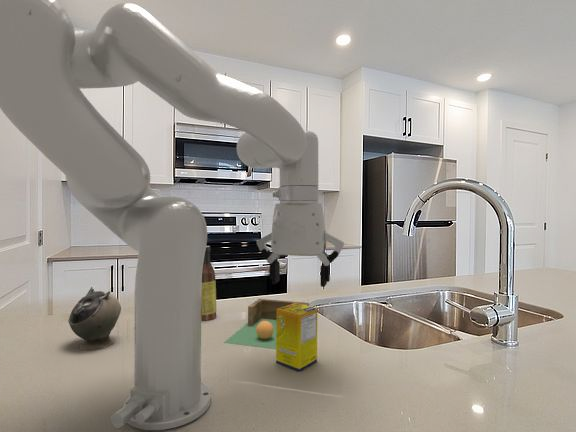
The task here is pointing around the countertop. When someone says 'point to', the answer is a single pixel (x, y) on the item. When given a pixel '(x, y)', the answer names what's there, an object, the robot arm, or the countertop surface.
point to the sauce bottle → (208, 289)
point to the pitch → (253, 336)
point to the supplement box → (296, 336)
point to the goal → (266, 309)
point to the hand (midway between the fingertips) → (299, 283)
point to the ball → (264, 330)
